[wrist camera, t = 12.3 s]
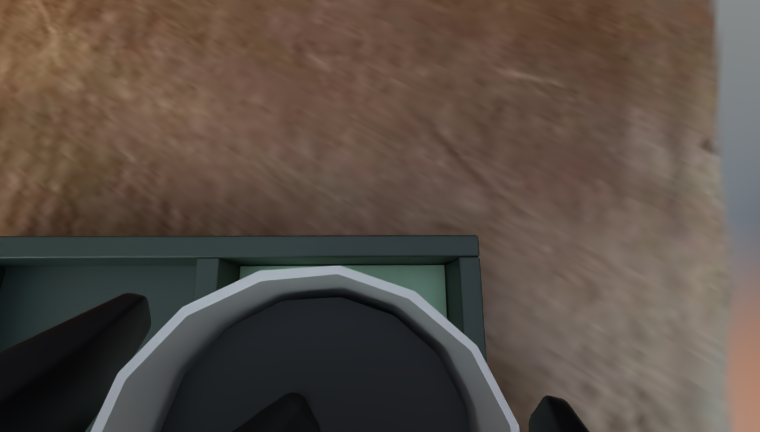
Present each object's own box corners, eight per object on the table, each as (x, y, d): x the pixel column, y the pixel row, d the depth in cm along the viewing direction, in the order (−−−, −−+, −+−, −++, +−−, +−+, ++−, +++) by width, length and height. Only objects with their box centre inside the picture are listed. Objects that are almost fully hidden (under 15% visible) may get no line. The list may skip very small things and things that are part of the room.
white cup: (321, 517, 14) (236, 942, 5) (219, 362, 15) (-21, 451, 6) (461, 394, 16) (624, 533, 6) (357, 258, 17) (352, 185, 7)
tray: (474, 508, 15) (500, 555, 12) (-58, 527, 14) (-164, 581, 12) (459, 247, 18) (478, 234, 15) (-1, 249, 17) (-77, 236, 14)
